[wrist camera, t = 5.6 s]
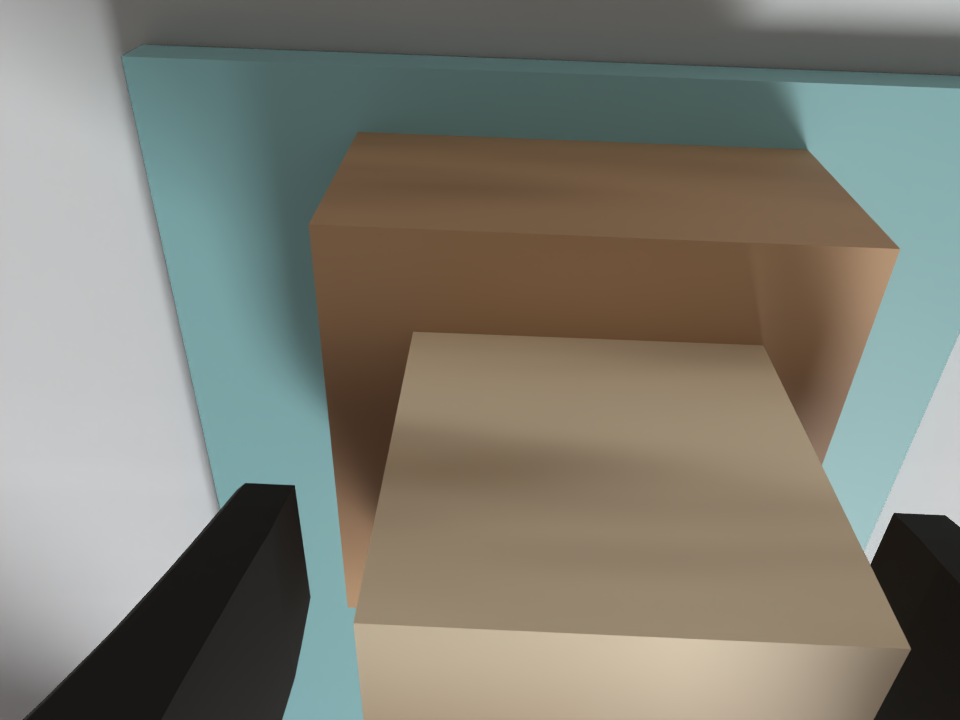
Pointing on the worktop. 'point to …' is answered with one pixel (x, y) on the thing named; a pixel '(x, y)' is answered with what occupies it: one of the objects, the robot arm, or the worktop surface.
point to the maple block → (612, 543)
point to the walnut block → (580, 270)
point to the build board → (505, 114)
